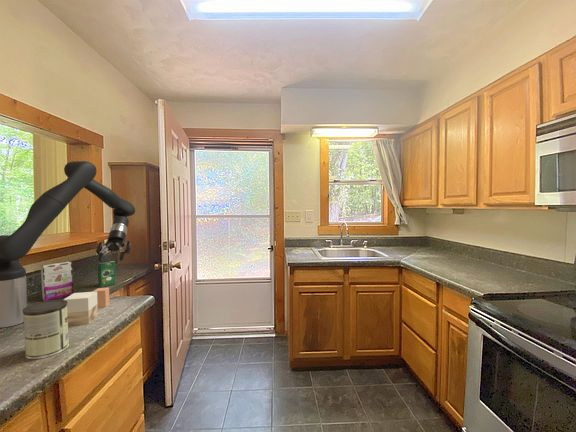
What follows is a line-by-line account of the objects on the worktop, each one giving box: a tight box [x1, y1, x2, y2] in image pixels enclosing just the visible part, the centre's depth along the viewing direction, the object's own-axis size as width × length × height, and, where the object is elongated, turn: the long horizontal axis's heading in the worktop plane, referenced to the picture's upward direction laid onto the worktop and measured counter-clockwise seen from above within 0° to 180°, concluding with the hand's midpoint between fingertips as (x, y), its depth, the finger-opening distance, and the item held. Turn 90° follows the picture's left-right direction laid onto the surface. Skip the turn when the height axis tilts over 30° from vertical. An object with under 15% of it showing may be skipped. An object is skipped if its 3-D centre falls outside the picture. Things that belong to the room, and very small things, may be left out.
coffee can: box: [23, 299, 70, 360], centre depth 85 cm, size 10×10×14 cm
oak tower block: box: [67, 305, 99, 327], centre depth 107 cm, size 8×8×5 cm
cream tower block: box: [63, 291, 98, 313], centre depth 107 cm, size 8×8×5 cm
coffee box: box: [97, 260, 116, 288], centre depth 154 cm, size 8×3×13 cm, turn 153°
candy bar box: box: [40, 261, 74, 302], centre depth 135 cm, size 11×5×16 cm, turn 143°
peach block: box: [92, 286, 111, 309], centre depth 123 cm, size 4×4×8 cm
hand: (110, 260), depth 134 cm, fingers open, 8 cm apart
